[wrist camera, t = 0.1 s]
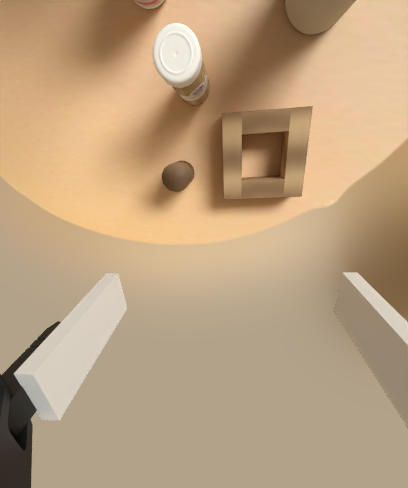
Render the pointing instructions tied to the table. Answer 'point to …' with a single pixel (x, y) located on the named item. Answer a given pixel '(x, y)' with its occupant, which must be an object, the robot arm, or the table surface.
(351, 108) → the table surface
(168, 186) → the walnut stub
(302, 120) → the oak collar
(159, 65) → the sprinkles bottle
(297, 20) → the travel mug
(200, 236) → the table surface
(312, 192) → the table surface
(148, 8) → the pill bottle
